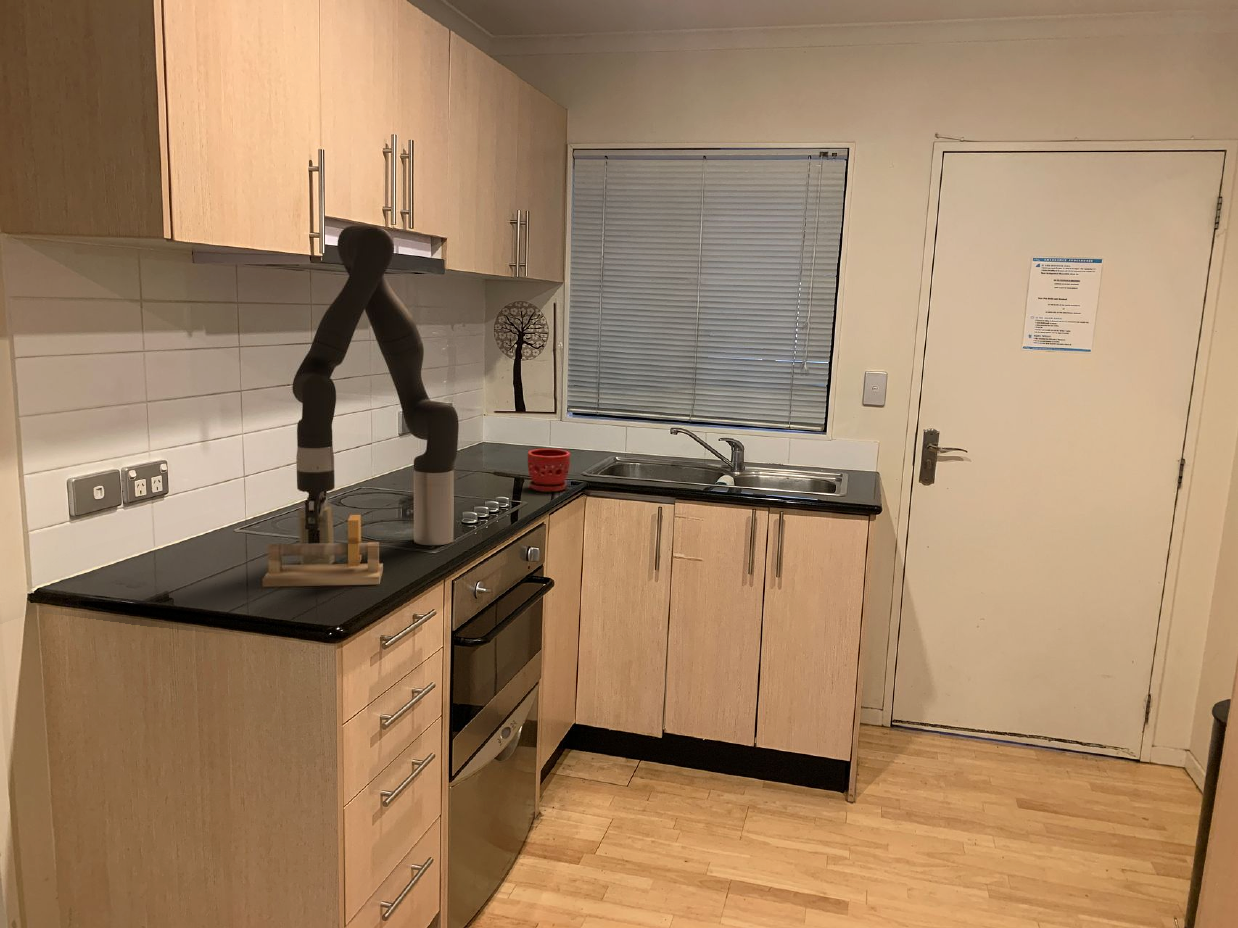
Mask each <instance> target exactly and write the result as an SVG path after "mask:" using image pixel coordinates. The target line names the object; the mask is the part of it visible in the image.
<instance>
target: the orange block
mask: <svg viewBox="0 0 1238 928" xmlns="http://www.w3.org/2000/svg"><path fill="white" fill-rule="evenodd" d="M361 518H362V515H361V514H350V515H349V518H348V519H347V542H348V556H347V557H348V558H347V564H348V566H359V564H361V562H362V561H361V560H362V555H359V543H362V524H361V523H362V521H361V520H362V519H361Z"/></svg>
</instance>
